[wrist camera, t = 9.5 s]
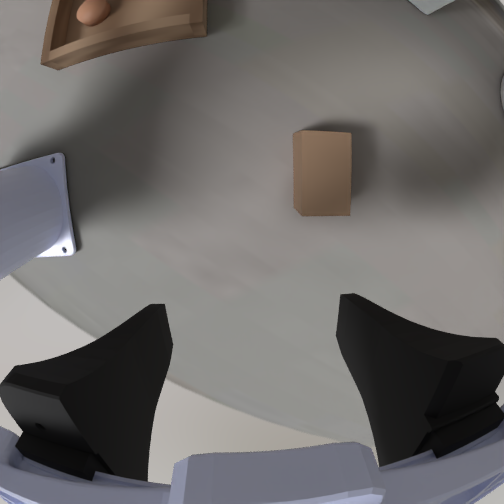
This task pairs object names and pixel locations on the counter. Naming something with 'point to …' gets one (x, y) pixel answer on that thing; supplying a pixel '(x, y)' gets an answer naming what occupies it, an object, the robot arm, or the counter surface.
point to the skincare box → (430, 5)
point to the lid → (322, 173)
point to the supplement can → (502, 92)
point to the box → (116, 27)
